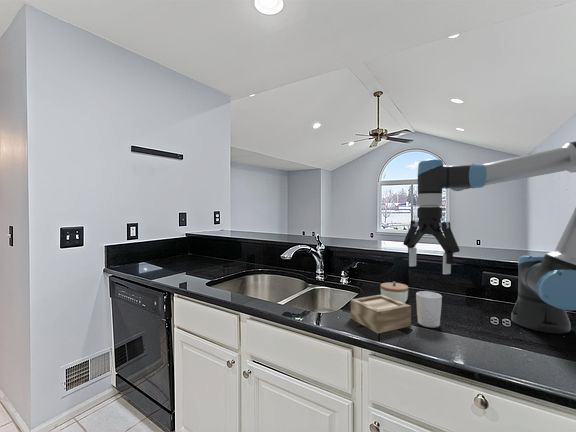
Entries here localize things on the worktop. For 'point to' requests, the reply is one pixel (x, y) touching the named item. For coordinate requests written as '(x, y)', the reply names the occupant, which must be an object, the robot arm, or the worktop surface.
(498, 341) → the worktop surface
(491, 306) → the worktop surface
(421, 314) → the white cup
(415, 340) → the worktop surface
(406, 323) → the wooden box
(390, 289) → the lidded jar
